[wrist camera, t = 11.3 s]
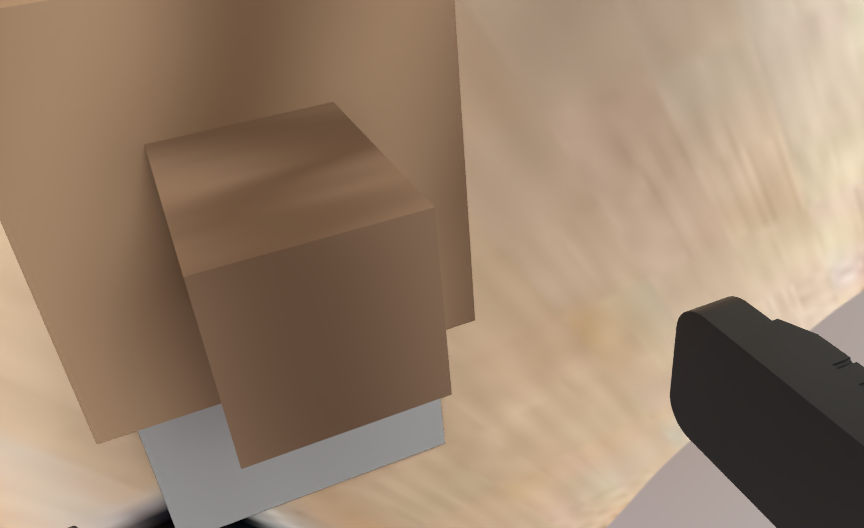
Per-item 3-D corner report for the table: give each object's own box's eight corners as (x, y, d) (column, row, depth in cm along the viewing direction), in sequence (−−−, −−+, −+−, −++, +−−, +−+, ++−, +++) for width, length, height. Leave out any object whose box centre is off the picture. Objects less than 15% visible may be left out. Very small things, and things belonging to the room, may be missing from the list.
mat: (417, 210, 30) (421, 214, 30) (441, 437, 36) (444, 443, 36) (89, 300, 26) (89, 306, 26) (179, 534, 33) (180, 541, 33)
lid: (428, -74, 15) (600, -19, 11) (457, 299, 20) (585, 453, 16) (-78, 8, 13) (-148, 131, 8) (94, 415, 18) (113, 641, 13)
